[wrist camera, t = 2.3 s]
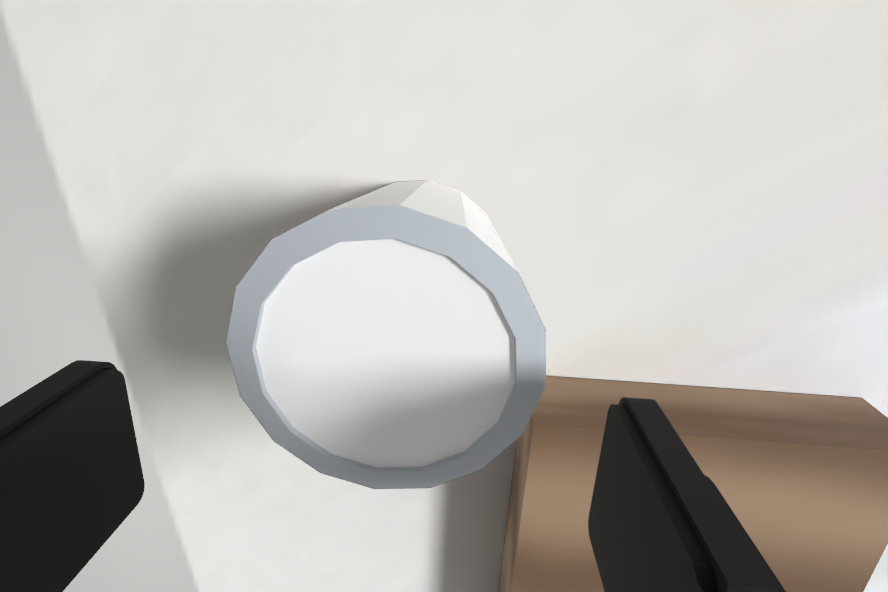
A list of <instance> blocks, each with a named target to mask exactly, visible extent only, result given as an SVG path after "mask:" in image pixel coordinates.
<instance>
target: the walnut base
mask: <svg viewBox="0 0 888 592" xmlns="http://www.w3.org/2000/svg"><path fill="white" fill-rule="evenodd" d="M622 397H628V398H643V399H654V400H655V401H656V402H657V403H658V405H659V406H660V408H661V409H662V411H663V412H664V414H665V416H666V417H667V419H668V420H669V422H670V423H671V425H672V426H673V428H674V429H675V431H676V432H677V434H678V435H679V437H680V439H681V440H682V442H683V443H684V445H685V446H686V448H687V449H688V451H689V452H690V454H691V455H692V457H693V459H694V460H695V462H696V463H697V465H698V466H699V468H700V469H701V471H702V472H703V474H704V475H705V476H707V477H709V478H710V479H711V480H712V482H713V483H714V484H715V485H716V487H717V488H718V490H719V491H720V493H721V494H722V496H723V497H724V499H725V500H726V502H727V503H728V505H729V506H730V508H731V509H732V511H733V512H734V514H735V515H736V517H737V519H738V520H739V522H740V523H741V525H742V526H743V528H744V529H745V531H746V532H747V534H748V535H749V537H750V538H751V540H752V541H753V543H754V544H755V546H756V547H757V549H758V550H759V552H760V553H761V555H762V556H763V558H764V559H765V561H766V562H767V564H768V565H769V567H770V568H771V570H772V571H773V573H774V574H775V576H776V577H777V579H778V580H779V582H780V583H781V585H782V586H783V588H784V589H785V591H786V592H863V591H864V589H865V587H866V585H867V583H868V581H869V579H870V577H871V575H872V573H873V571H874V569H875V567H876V565H877V563H878V561H879V559H880V557H881V555H882V554H883V552H884V550H885V548H886V546H887V544H888V418H887V417H886V416H884V415H883V414H882V413H881V412H879V411H878V410H877V409H876V408H874V407H873V406H872V405H870V404H869V403H868V402H867V401H865V400H864V399H863V398H854V397H840V396H826V395H812V394H797V393H783V392H769V391H754V390H740V389H726V388H711V387H697V386H683V385H669V384H654V383H640V382H626V381H611V380H597V379H583V378H569V377H554V376H546V386H545V388H544V390H543V392H542V394H541V397H540V399H539V401H538V403H537V405H536V407H535V409H534V411H533V413H532V415H531V417H530V420H529V422H528V424H527V426H526V428H525V430H524V432H523V434H522V435H521V436H520V437H519V438H518V439H517V443H516V451H515V459H514V467H513V475H512V484H511V492H510V500H509V508H508V516H507V525H506V533H505V541H504V549H503V557H502V565H501V574H500V582H499V590H498V592H605V591H604V588H603V584H602V581H601V577H600V573H599V570H598V566H597V563H596V559H595V556H594V552H593V549H592V545H591V541H590V537H589V531H588V518H589V512H590V506H591V501H592V495H593V490H594V484H595V479H596V474H597V468H598V463H599V457H600V452H601V446H602V441H603V435H604V430H605V425H606V419H607V414H608V409H609V407H610V405H611V404H617V405H618V403H619V401H620V399H621V398H622Z"/></svg>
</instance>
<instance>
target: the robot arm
mask: <svg viewBox="0 0 888 592" xmlns="http://www.w3.org/2000/svg"><path fill="white" fill-rule="evenodd" d="M143 492H144V479H143V474H142V468H141V463H140V458H139V453H138V447H137V442H136V437H135V431H134V427H133V421H132V416H131V410H130V405H129V400H128V395H127V389H126V384H125V379H124V376H123V374H122V373H121V372H120V371H118V370H117V369H116V367H115V366H114V365H113V364H111V363H109V362H96V361H75V362H73V363H71V364H69V365H68V366H66V367H64V368H63V369H61V370H59V371H58V372H56V373H55V374H53V375H51V376H50V377H48V378H46V379H45V380H43V381H42V382H40V383H38V384H37V385H35V386H34V387H32V388H30V389H29V390H27V391H26V392H24V393H22V394H21V395H19V396H17V397H16V398H14V399H12V400H11V401H9V402H8V403H6V404H4V405H3V406H1V407H0V592H63V590H64V589H65V588H66V587H67V586H68V585H69V584H70V582H71V581H72V580H73V579H74V578H75V577H76V575H77V574H78V573H79V572H80V571H81V570H82V568H83V567H84V566H85V565H86V563H88V561H89V560H90V559H91V558H92V557H93V556H94V554H95V553H96V552H97V551H98V550H99V549H100V547H101V546H102V545H103V544H104V543H105V542H106V540H107V539H108V538H109V537H110V536H111V535H112V534H113V532H114V531H115V530H116V529H117V528H118V526H119V525H120V524H121V523H122V522H123V521H124V519H125V518H126V517H127V516H128V515H129V514H130V513H131V511H132V510H133V509H134V508H135V507H136V506H137V504H138V503H139V501H140V500H141V498H142V495H143ZM588 531H589V537H590V541H591V545H592V549H593V552H594V556H595V559H596V563H597V566H598V570H599V573H600V577H601V581H602V584H603V588H604V591H605V592H786V591H785V589H784V588H783V586H782V585H781V583H780V582H779V580H778V579H777V577H776V576H775V574H774V573H773V571H772V570H771V568H770V567H769V565H768V564H767V562H766V561H765V559H764V558H763V556H762V555H761V553H760V552H759V550H758V549H757V547H756V546H755V544H754V543H753V541H752V540H751V538H750V537H749V535H748V534H747V532H746V531H745V529H744V528H743V526H742V525H741V523H740V522H739V520H738V519H737V517H736V515H735V514H734V512H733V511H732V509H731V508H730V506H729V505H728V503H727V502H726V500H725V499H724V497H723V496H722V494H721V493H720V491H719V490H718V488H717V487H716V485H715V484H714V483H713V482H712V480H711V479H710V478H709V477H707V476H705V475H704V474H703V472H702V471H701V469H700V468H699V466H698V465H697V463H696V462H695V460H694V459H693V457H692V455H691V454H690V452H689V451H688V449H687V448H686V446H685V445H684V443H683V442H682V440H681V439H680V437H679V435H678V434H677V432H676V431H675V429H674V428H673V426H672V425H671V423H670V422H669V420H668V419H667V417H666V416H665V414H664V412H663V411H662V409H661V408H660V406H659V405H658V403H657V402H656V401H655V400H654V399H643V398H628V397H622V398H621V399H620V401H619V403H618V405H617V404H611V405H610V407H609V409H608V414H607V419H606V425H605V430H604V435H603V441H602V446H601V452H600V457H599V463H598V468H597V474H596V479H595V484H594V490H593V495H592V501H591V506H590V512H589V518H588Z"/></svg>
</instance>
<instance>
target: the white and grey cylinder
mask: <svg viewBox="0 0 888 592" xmlns="http://www.w3.org/2000/svg"><path fill="white" fill-rule="evenodd" d="M226 344H227V348H228V352H229V356H230V359H231V363H232V367H233V371H234V375H235V378H236V382H237V386H238V390H239V394H240V397H241V398H242V399H243V401H244V402H245V403H246V405H247V406H248V407H249V409H250V410H251V411H252V413H253V414H254V415H255V417H256V418H257V419H258V421H259V422H260V424H261V425H262V426H263V428H264V429H265V430H266V432H267V433H268V434H269V436H270V437H271V438H272V440H273V441H274V442H276V443H277V444H279V445H280V446H282V447H283V448H284V449H286V450H287V451H289V452H290V453H292V454H293V455H295V456H296V457H298V458H299V459H301V460H302V461H304V462H305V463H306V464H308V465H309V466H311V467H312V468H314V469H315V470H317V471H318V472H320V473H322V474H326V475H329V476H332V477H336V478H339V479H342V480H346V481H349V482H353V483H356V484H359V485H363V486H366V487H369V488H373V489H404V488H432V487H434V486H437V485H440V484H443V483H446V482H448V481H451V480H454V479H457V478H460V477H462V476H465V475H468V474H471V473H474V472H476V471H479V470H482V469H483V468H484V467H485V466H486V465H488V464H489V463H490V462H491V461H492V460H493V459H495V458H496V457H497V456H498V455H499V454H500V453H502V452H503V451H504V450H505V449H506V448H507V447H509V446H510V445H511V444H512V443H513V442H514V441H516V440H517V439H518V438H519V437H520V436H521V435H522V434H523V432H524V430H525V428H526V426H527V424H528V422H529V420H530V417H531V415H532V413H533V411H534V409H535V407H536V405H537V403H538V401H539V399H540V397H541V394H542V392H543V390H544V388H545V386H546V329H545V327H544V325H543V323H542V321H541V318H540V316H539V314H538V312H537V310H536V308H535V306H534V304H533V302H532V299H531V297H530V295H529V293H528V291H527V289H526V287H525V285H524V283H523V281H522V278H521V276H520V274H519V272H518V270H517V269H516V267H515V265H514V263H513V261H512V260H511V258H510V256H509V254H508V252H507V250H506V249H505V247H504V245H503V243H502V241H501V240H500V238H499V236H498V234H497V232H496V231H495V229H494V227H493V225H492V223H491V222H490V220H489V218H488V216H487V214H486V213H485V212H484V211H483V210H481V209H480V208H479V207H478V206H477V205H476V204H475V203H473V202H472V201H471V200H470V199H469V198H468V197H467V196H466V195H464V194H463V193H462V192H461V191H459V190H456V189H453V188H450V187H447V186H444V185H441V184H438V183H435V182H432V181H429V180H422V181H407V182H394V183H391V184H389V185H387V186H384V187H382V188H379V189H377V190H375V191H372V192H370V193H367V194H365V195H363V196H360V197H358V198H355V199H353V200H351V201H348V202H346V203H343V204H341V205H339V206H336V207H334V208H331V209H329V210H327V211H325V212H323V213H321V214H319V215H318V216H316V217H314V218H312V219H310V220H308V221H306V222H304V223H302V224H300V225H298V226H296V227H294V228H292V229H291V230H289V231H287V232H285V233H283V234H281V235H279V236H277V237H275V238H273V239H271V241H270V242H269V243H268V245H267V246H266V247H265V249H264V250H263V251H262V253H261V254H260V256H259V257H258V258H257V260H256V261H255V262H254V264H253V265H252V266H251V268H250V269H249V270H248V272H247V273H246V274H245V276H244V277H243V278H242V280H241V281H240V282H239V284H238V285H237V286H236V289H235V295H234V301H233V306H232V312H231V317H230V323H229V329H228V334H227V340H226Z"/></svg>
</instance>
